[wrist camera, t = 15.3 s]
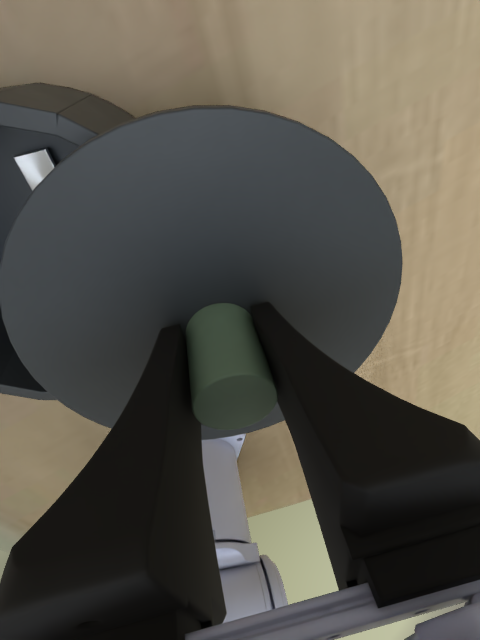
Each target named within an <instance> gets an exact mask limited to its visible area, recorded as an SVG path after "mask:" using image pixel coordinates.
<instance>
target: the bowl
mask: <svg viewBox="0 0 480 640" xmlns="http://www.w3.org/2000/svg"><path fill="white" fill-rule="evenodd" d="M132 119H135V118H134V117H133V116H132V115H130V114H129V113H127V112H126V111H124V110H122V109H121V108H119V107H117V106H115V105H114V104H112V103H110V102H108V101H106V100H104V99H101V98H99V97H97V96H95V95H92V94H91V93H87V92H83V91H79V90H76V89H72V88H69V87H62V86H55V85H49V84H44V83H32V84H25V85H18V86H10V87H3V88H0V264H1V259H2V255H3V250H4V245H5V241H6V239H7V237H8V234H9V232H10V230H11V227H12V225H13V223H14V220H15V218H16V216H17V214H18V212H19V211H20V209H21V208H22V206H23V205H24V203H25V202H26V200H27V199H28V197H29V196H30V194H31V193H32V189H31V188H30V186H29V184H28V182H27V181H26V179H25V177H24V175H23V174H22V172H21V170H20V168H19V167H18V165H17V163H16V161H15V160H14V158H13V157H14V156H16V155H19V154H24V153H28V152H32V151H36V150H41V149H45V148H47V149H48V150H49V152H50V154H51V156H52V158H53V160H54V162H55V164H56V165H57V164H58V163H59V162H60V161H61V160H62V159H64V158H65V157H66V156H68V155H69V154H70V153H72V152H73V151H74V150H76V149H77V148H79V147H80V146H81V145H83V144H84V143H85V142H87V141H88V140H89V139H91V138H93V137H95V136H97V135H99V134H101V133H103V132H105V131H107V130H109V129H111V128H113V127H115V126H117V125H119V124H120V123H123V122H126V121H129V120H132ZM0 393H2V394H8V395H14V396H20V397H26V398H31V399H37V400H41V399H42V400H57V399H56V398H55V397H53V396H52V395H51V394H49V393H48V392H47V391H46V390H45V389H44V388H43V387H42V386H41V385H40V384H39V383H38V382H37V381H36V380H35V379H34V378H33V376H32V375H31V374H30V372H29V371H28V370H27V368H26V367H25V366H24V364H23V363H22V362H21V360H20V358H19V357H18V355H17V353H16V351H15V349H14V347H13V346H12V344H11V342H10V339H9V336H8V333H7V331H6V328H5V325H4V322H3V319H2V312H1V306H0Z"/></svg>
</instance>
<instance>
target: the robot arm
mask: <svg viewBox="0 0 480 640" xmlns="http://www.w3.org/2000/svg"><path fill="white" fill-rule="evenodd" d="M250 308H251V313H252V318H253V322H254V325H255V328H256V331H257V334H258V337H259V340H260V342H261V345H262V348H263V350H264V353H265V355H266V358H267V361H268V364H269V367H270V370H271V373H272V376H273V379H274V382H275V384H276V387H277V391H278V399H277V402H278V404H279V407H280V409H281V411H282V414H283V416H284V418H285V421H286V423H287V425H288V428H289V430H290V433H291V436H292V438H293V441H294V444H295V447H296V450H297V453H298V456H299V460H300V463H301V466H302V469H303V472H304V475H305V479H306V482H307V485H308V488H309V492H310V495H311V498H312V501H313V504H314V508H315V511H316V514H317V518H318V521H319V524H320V527H321V531H322V534H323V538H324V541H325V544H326V548H327V551H328V554H329V558H330V561H331V564H332V568H333V571H334V574H335V578H336V581H337V585H338V588H339V591H336V592H332V593H329V594H325V595H322V596H319V597H315V598H311V599H308V600H304V601H301V602H297V603H293V604H290V605H288V602H287V598H286V593H285V589H284V586H283V582H282V579H281V576H280V573H279V571H278V568H277V566H276V565H275V564H274V563H273V562H272V561H271V560H270V559H269V557H268V556H267V555H260V556H259V552H258V546H257V543H251V537H250V532H249V527H248V521H247V515H246V510H245V504H244V499H243V493H242V488H241V483H240V477H239V472H238V466H237V459H238V456H239V453H240V450H241V447H242V445H243V442H244V439H245V436H246V434H240V435H236V436H231V437H225V438H218V439H210V440H202V435H201V423H200V422H199V421H198V420H197V419H196V417H195V416H194V414H193V411H192V403H191V391H190V379H189V368H188V356H187V344H186V340H185V337H184V334H183V332H182V329H181V327H180V324H177V325H173V326H169V327H165V328H162V329H161V330H160V332H159V334H158V337H157V340H156V342H155V345H154V347H153V350H152V352H151V355H150V357H149V360H148V362H147V364H146V366H145V369H144V371H143V373H142V375H141V378H140V380H139V382H138V384H137V386H136V388H135V389H134V391H133V393H132V395H131V397H130V399H129V401H128V403H127V405H126V406H125V408H124V410H123V412H122V413H121V415H120V417H119V418H118V420H117V421H116V423H115V425H114V426H113V428H112V429H111V431H110V432H109V434H108V435H107V437H106V438H105V440H104V441H103V442H102V444H101V445H100V447H99V448H98V450H97V451H96V452H95V454H94V455H93V457H92V458H91V459H90V461H89V462H88V463H87V464H86V466H85V467H84V468H83V470H82V471H81V472H80V473H79V474H78V476H77V477H76V478H75V479H74V480H73V482H72V483H71V484H70V485H69V487H68V488H67V489H66V490H65V491H64V492H63V494H62V495H61V496H60V497H59V498H58V499H57V500H56V502H55V503H54V504H53V505H52V506H51V507H50V508H49V509H48V510H47V511H46V513H45V514H44V515H43V516H42V517H41V518H40V519H39V520H38V521H37V522H36V523H35V524H34V525H33V526H32V527H31V528H30V529H29V530H28V531H27V533H26V534H25V535H24V536H23V537H22V538H21V539H20V540H19V541H18V542H17V543H16V544H15V545H14V546H13V547H12V549H11V552H10V555H9V558H8V560H7V563H6V566H5V568H4V572H3V575H2V578H1V582H0V640H334V639H338V638H341V637H345V636H348V635H352V634H355V633H359V632H362V631H366V630H369V629H372V628H376V627H380V626H383V625H387V624H390V623H394V622H397V621H401V620H404V619H408V618H411V617H415V616H418V615H422V614H425V613H429V612H432V611H436V610H439V609H443V608H446V607H450V606H453V605H457V604H460V603H463V602H466V603H465V605H464V607H461V608H459V609H456V610H454V611H451V612H448V613H445V614H443V615H440V616H438V617H435V618H432V619H430V620H427V621H425V622H422V623H419V624H417V625H416V627H415V633H414V634H412V635H411V636H409V637H407V638H406V639H404V640H480V440H479V439H478V438H477V437H476V436H475V435H474V434H473V433H472V432H471V431H469V430H468V428H467V427H466V426H465V425H463V424H460V423H458V422H455V421H452V420H450V419H447V418H445V417H442V416H440V415H437V414H435V413H432V412H430V411H427V410H425V409H422V408H420V407H417V406H415V405H413V404H411V403H409V402H407V401H404V400H402V399H400V398H398V397H396V396H394V395H392V394H390V393H388V392H387V391H385V390H383V389H381V388H379V387H377V386H375V385H373V384H371V383H370V382H368V381H366V380H364V379H363V378H361V377H359V376H358V375H356V374H354V373H353V372H351V371H349V370H348V369H346V368H345V367H343V366H342V365H340V364H339V363H337V362H336V361H335V360H333V359H332V358H330V357H329V356H328V355H326V354H325V353H324V352H322V351H321V350H320V349H318V348H317V347H316V346H315V345H313V344H312V343H311V342H310V341H309V340H307V339H306V338H305V337H304V336H303V335H302V334H301V333H299V332H298V331H297V330H296V329H295V328H294V327H293V326H292V325H291V324H290V323H289V322H288V321H287V320H286V319H285V318H284V317H283V316H282V315H281V314H280V313H279V312H278V311H277V310H276V309H275V307H274V306H273V305H272V304H271V303H269V302H265V303H261V304H257V305H253V306H250Z"/></svg>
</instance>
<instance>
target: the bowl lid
mask: <svg viewBox="0 0 480 640" xmlns="http://www.w3.org/2000/svg"><path fill="white" fill-rule="evenodd" d="M401 275H402V249H401V240H400V236H399V231H398V227H397V223H396V219H395V217H394V214H393V212H392V210H391V207H390V205H389V203H388V200H387V198H386V196H385V195H384V193H383V192H382V190H381V188H380V187H379V185H378V184H377V182H376V181H375V179H374V178H373V176H372V175H371V174H370V173H369V172H368V171H367V170H366V169H365V168H364V167H363V165H362V164H361V163H360V162H359V161H358V160H357V159H356V158H355V157H354V156H353V155H352V154H350V153H349V152H348V151H346V150H345V149H344V148H342V147H341V146H340V145H338V144H337V143H336V142H334V141H333V140H332V139H330V138H329V137H327V136H325V135H323V134H321V133H319V132H317V131H315V130H313V129H311V128H309V127H307V126H306V125H304V124H302V123H300V122H298V121H295V120H292V119H289V118H286V117H283V116H280V115H277V114H273V113H270V112H267V111H264V110H257V109H251V108H244V107H238V106H231V105H194V106H187V107H181V108H175V109H169V110H162V111H157V112H153V113H150V114H147V115H144V116H141V117H138V118H135V119H132V120H129V121H126V122H123V123H120V124H119V125H117V126H115V127H113V128H111V129H109V130H107V131H105V132H103V133H101V134H99V135H97V136H95V137H93V138H91V139H89V140H88V141H87V142H85V143H84V144H83V145H81V146H80V147H79V148H77V149H76V150H74V151H73V152H72V153H70V154H69V155H68V156H66V157H65V158H64V159H62V160H61V161H60V162H59V163H58V164H57V165H56V166H55V167H54V168H53V170H52V171H51V172H50V173H49V174H48V175H47V176H46V177H45V178H44V179H43V180H42V181H41V182H40V183H39V184H38V185H37V186H36V187H35V188H34V190H33V191H32V193H31V194H30V196H29V197H28V199H27V200H26V202H25V203H24V205H23V206H22V208H21V209H20V211H19V212H18V214H17V216H16V218H15V220H14V223H13V225H12V227H11V230H10V232H9V234H8V237H7V239H6V241H5V245H4V250H3V255H2V259H1V264H0V306H1V312H2V319H3V322H4V325H5V328H6V331H7V333H8V336H9V339H10V342H11V344H12V346H13V347H14V349H15V351H16V353H17V355H18V357H19V358H20V360H21V362H22V363H23V364H24V366H25V367H26V368H27V370H28V371H29V372H30V374H31V375H32V376H33V378H34V379H35V380H36V381H37V382H38V383H39V384H40V385H41V386H42V387H43V388H44V389H45V390H46V391H47V392H48V393H49V394H51V395H52V396H53V397H55V398H56V399H57V400H58V401H60V402H61V403H62V404H64V405H65V406H66V407H68V408H70V409H71V410H73V411H75V412H76V413H78V414H80V415H82V416H83V417H85V418H87V419H90V420H92V421H94V422H96V423H98V424H100V425H103V426H106V427H109V428H113V426H114V425H115V423H116V421H117V420H118V418H119V417H120V415H121V413H122V412H123V410H124V408H125V406H126V405H127V403H128V401H129V399H130V397H131V395H132V393H133V391H134V389H135V388H136V386H137V384H138V382H139V380H140V378H141V375H142V373H143V371H144V369H145V366H146V364H147V362H148V360H149V357H150V355H151V352H152V350H153V347H154V345H155V342H156V340H157V337H158V334H159V332H160V330H161V329H162V328H165V327H169V326H173V325H177V324H180V327H181V329H182V332H183V334H184V337H185V340H186V344H187V356H188V368H189V379H190V391H191V403H192V411H193V414H194V416H195V417H196V419H197V420H198V421H199V422H200V423H201V435H202V440H210V439H218V438H225V437H231V436H236V435H240V434H245V433H249V432H253V431H256V430H259V429H262V428H266V427H269V426H271V425H274V424H276V423H279V422H281V421H284V420H285V418H284V416H283V414H282V411H281V409H280V407H279V404H278V402H277V399H278V391H277V387H276V384H275V382H274V379H273V376H272V373H271V370H270V367H269V364H268V361H267V358H266V355H265V353H264V350H263V348H262V345H261V342H260V340H259V337H258V334H257V331H256V328H255V325H254V322H253V318H252V313H251V308H250V306H253V305H257V304H261V303H265V302H269V303H271V304H272V305H273V306H274V307H275V309H276V310H277V311H278V312H279V313H280V314H281V315H282V316H283V317H284V318H285V319H286V320H287V321H288V322H289V323H290V324H291V325H292V326H293V327H294V328H295V329H296V330H297V331H298V332H299V333H301V334H302V335H303V336H304V337H305V338H306V339H307V340H309V341H310V342H311V343H312V344H313V345H315V346H316V347H317V348H318V349H320V350H321V351H322V352H324V353H325V354H326V355H328V356H329V357H330V358H332V359H333V360H335V361H336V362H337V363H339V364H340V365H342V366H343V367H345V368H346V369H348V370H349V371H351V372H353V373H354V372H355V371H356V370H357V369H358V368H359V367H360V366H361V365H362V363H363V362H364V361H365V360H366V359H367V357H368V356H369V355H370V354H371V352H372V351H373V349H374V348H375V346H376V345H377V343H378V342H379V340H380V339H381V337H382V335H383V333H384V331H385V329H386V327H387V325H388V323H389V321H390V319H391V316H392V313H393V311H394V308H395V305H396V303H397V298H398V294H399V289H400V285H401Z"/></svg>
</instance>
